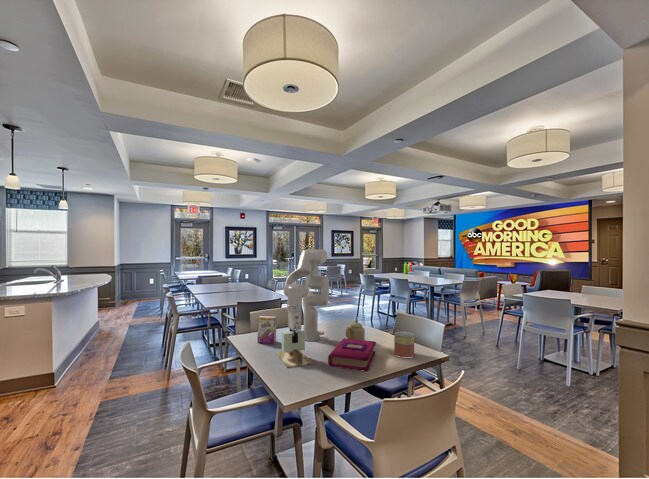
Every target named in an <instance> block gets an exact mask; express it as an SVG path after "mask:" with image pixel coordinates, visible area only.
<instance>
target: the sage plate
mask: <svg viewBox="0 0 649 479" xmlns="http://www.w3.org/2000/svg"><path fill="white" fill-rule="evenodd" d="M294 332H296V331H294ZM292 336H293V331H289V330H288V331H282V332H281V351H283V352H284V353H286V352H293V350H297V349H298V350H299V351H305V350H306V348H305V346H306V341H305V331H304V329H301V330H299V333H298V343H292Z"/></svg>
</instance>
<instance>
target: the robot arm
mask: <svg viewBox="0 0 649 479" xmlns="http://www.w3.org/2000/svg"><path fill="white" fill-rule="evenodd" d="M327 259H328V252H327V251H326V250H325V249H311V248H307V249H303V250H302V251H301V253H300V256H299V260H298V263H297V267H296V269H295V270H293V271H292V272H291V273H290V274H289V275H288V276H287V278H286V280H285V283H284V287H283V294H284V296H286V298H287V301H286V302H287V303H286V304H287V307H286V308H287V309H286V310H287V313H288V314H287V326H288V328H289V330H288V331H293V336H292V343H298V333H299V330H302V316H301V311H302V304H303V331H305V342H314V341H318V340H320V338H321V337H320V336H324V335H325V331H319V330H318V327H319V326H318V325H319V324H318V322H319V321H318V318H319V317H318V316H319V315H318V314H319V313H318V309H317V308H316V307H327V305H329V293H330V281H329V277H328V276H327V275H319V272H320V270H319V266H318V265H322V264H324V263H325V262H326V261H327ZM303 278H305V284H301V283H300V284H299V283H294V282H296V281H297V280H300V279H303ZM313 290H314V291H313ZM316 290H321V291H316ZM294 331H296V332H294Z"/></svg>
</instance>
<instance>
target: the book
mask: <svg viewBox="0 0 649 479" xmlns="http://www.w3.org/2000/svg"><path fill="white" fill-rule="evenodd" d="M376 343H377V342H376V341H373V340H365V339H364V340H354V339H348V338H342V339H341V341H339V343H337V345H336V346H335V347H334V349H333V350H332V351H331V352H330V354H329V355H328V357H327V363H328V366H329V367H333V368H339V367H340V368H341V369H346V368H348V370H353V369H357V370H356V371H361V370H364V371H363V372H369V371H370V367H371V365H372V363H371V362H373V360H374V358H375V356H374V355H376V354H375V353H376V350H374V348H375V346H376V345H377V344H376ZM373 357H374V358H373ZM370 364H371V365H370ZM368 370H369V371H368Z"/></svg>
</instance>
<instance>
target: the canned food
mask: <svg viewBox="0 0 649 479" xmlns="http://www.w3.org/2000/svg"><path fill="white" fill-rule="evenodd" d="M393 334H394V338H393V339H394V340H393V342H394V350H393V352H394V353H393V354H395V355H397V356H400V357H412V356H414V357H415V334H414V333H412V332H410V331H405V330H402V331H395V332H394V333H393ZM395 355H394V356H395ZM397 356H396V357H397ZM400 357H399V358H400Z"/></svg>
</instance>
